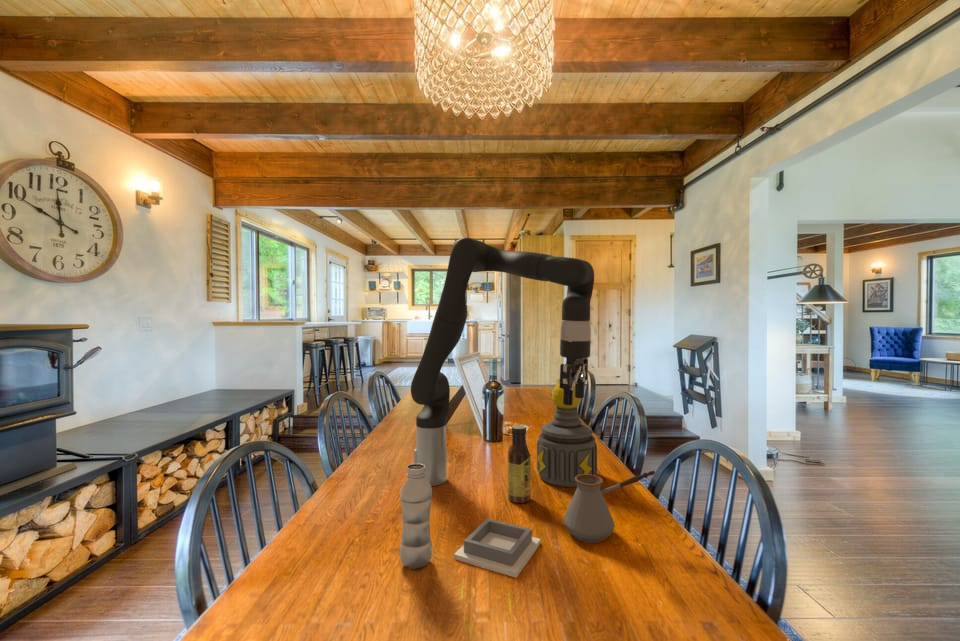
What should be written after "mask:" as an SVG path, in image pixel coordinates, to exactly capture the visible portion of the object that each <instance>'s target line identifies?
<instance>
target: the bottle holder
mask: <svg viewBox="0 0 960 641" xmlns="http://www.w3.org/2000/svg"><path fill="white" fill-rule="evenodd" d="M541 543H542V539H541V538H538V537H534V536H533V529H532V528H528V527H523V526H520V525H516V524H513V523H508V522H504V521H499V520H495V519H491V518H486V519H485V520H484V521H483V522H482V523H481V524H480V525H479V526H478V527H477V528H476V529H474V531H472V532H471V533H470V534H469V535H468V536H467V537H466V538H465V539H463V545H462V546H461V547H460V548H459V549H458V550H457V551H456V552H455V553H454V554H453V560H456V561H460V562H462V563H466V564H468V565H469V564H470V565H472V566H476V567H479V568H483V569H485V570H489V571H491V572H492V571H493V572H495V573H499V574H501V575H505V576H509V577H512V578H516V579H517V577H518V576H519V575H520V574H521V573H522V570H523V569H524V568H525V566H526V565H527V563H528V562H529V561H530V559H531V558H532V556H533V555H534V554H535V552H536V551H537V549H538V548H539V546H540V545H541Z"/></svg>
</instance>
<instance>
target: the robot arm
mask: <svg viewBox="0 0 960 641" xmlns="http://www.w3.org/2000/svg"><path fill="white" fill-rule="evenodd" d="M479 272H499V273H505V274H506V273H507V274H510V275H513V276H517V277H522V278H525V279H530V280H533V281H539V282H550V283H552V284H553V283H554V284H558V285H561V286H565V287H567V292H566V296H565V297H564V299H563V301H562V306H561V322H560V323H561V325H560V336H559V339H560V342H559V344H560V345H559V349H560V350H559V355H560V356H561V357H562V358H565V359H566V360H565V363H560V365H559V368H560V370H559V383H560V385H559V386H560V388H562V389H564V395H563V403H564V405H572V404H573V387H574V384H575V397H576V398H581V399H584V398H585V384H586V382H587V381H588V379H589V359H588V358H590V357H591V344H592V343H591V340H592V339H591V337H592V336H591V335H592V327H591V300H592V296H593V290H594V285H595V270H594V267H593V266H592V264H591V263H590V262H588V261H587V260H585V259H584V260H583V259H580V258H574V257H568V256H567V257H565V256H554V255H550V254H546V253H542V252H541V253H540V252H534V251H533V252H532V251H518V250H515V251H514V250H507V249H501V248H498V247H494V246H492V245H489V244H487V243H485V242H484V241H481V240H478V239H476V238H471V237H462V238H459V239H458V240H456V241H455V243H454V245H453V246H452V249H451V252H450V255H449V261H448V265H447V271H446V275H445V281H444V283H443V288H442V292H441V294H440V299H439V303H438V306H437V307H436V312H435V313H434V314H435V315H434V317H433V321H432V324H431V328H430V332H429V334H428V338H427V341H426V344H425V348H424V350H423V352H422V357H421V360H420V361H419V364H418V366H417V369H416V371H415V373H414V376H413V378H412V381H411V383H410V395H411V399H412V400H413V401H414V403H416V404H417V405H421V406H423V408H422V410H421V411H420V412H419V413H418V414H417V415H416V417H415V418H416V419H415V426H416V428H415V429H416V431H415V432H416V433H415V434H416V439H415V441H416V446H415V447H416V448H415V449H414V450H413V464H423V465H425V472H426V475H425V476H424V478H425V479H426V480H427V481H428V482H429V484H430V485H431V487H434V486H439V485H440V486H441V485H443V484H445V483H446V482H447V480H448V479H447V472H448V470H447V466H448V465H447V464H448V463H447V460H448V459H447V451H448V450H447V418H449V417H448V416H449V413H450V393H451V392H450V383H449V380H448V377H447V376H446V375H445V373H443V372H442V371H441V370H442V367H443V365H444V363H445V362H446V360H447V359H448V357H449V356H450V354H451V353H452V352H453V350H454V349H455V348H456V347H457V344H458V343H459V341H460V339H461V337H462V335H463V332H464V329H465V326H466V322H467V319H468V318H467V317H468V306H467V289H468V284H469V281H470V278H471V275H472V273H479Z"/></svg>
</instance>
